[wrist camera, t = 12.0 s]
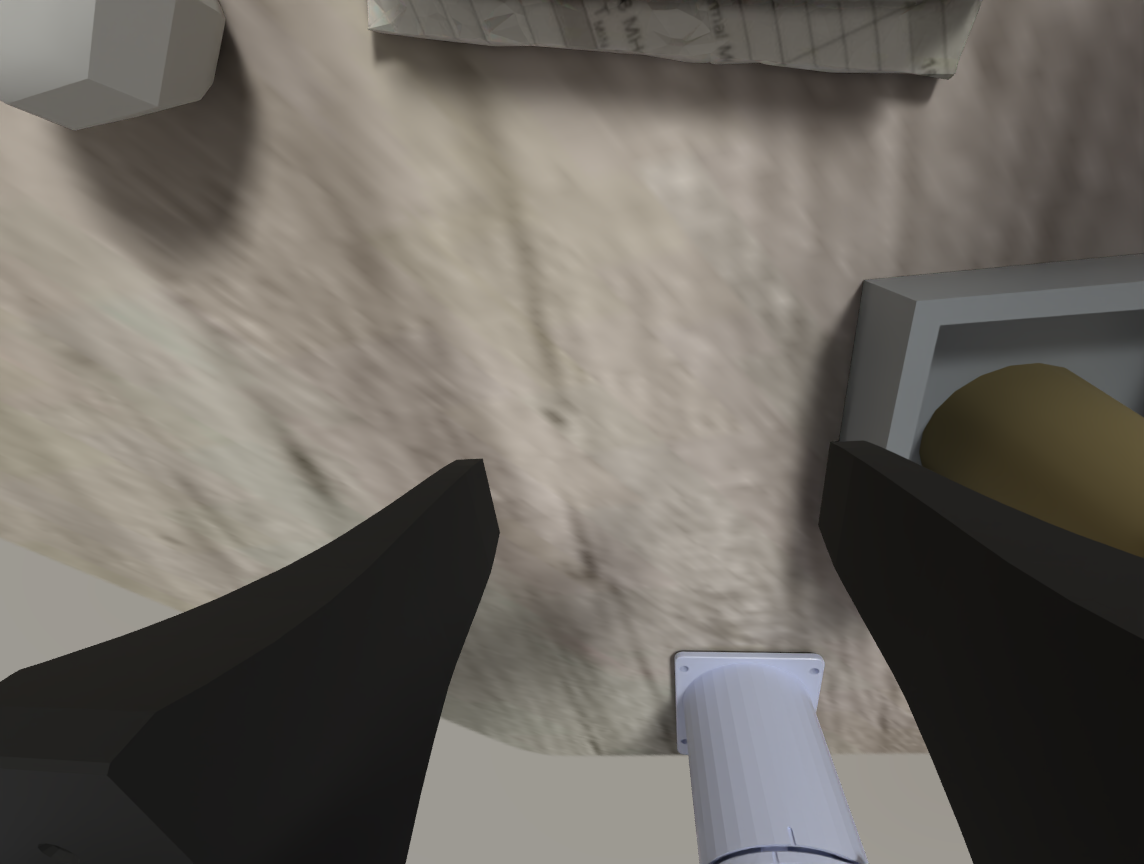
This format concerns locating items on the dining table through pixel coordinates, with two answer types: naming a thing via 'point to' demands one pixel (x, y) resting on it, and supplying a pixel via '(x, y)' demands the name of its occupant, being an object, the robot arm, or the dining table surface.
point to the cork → (1045, 450)
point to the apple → (106, 57)
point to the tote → (989, 338)
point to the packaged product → (708, 29)
